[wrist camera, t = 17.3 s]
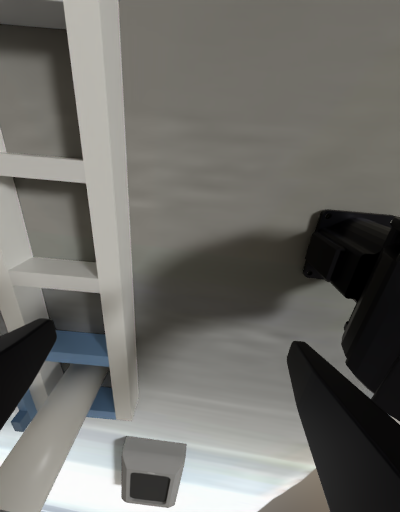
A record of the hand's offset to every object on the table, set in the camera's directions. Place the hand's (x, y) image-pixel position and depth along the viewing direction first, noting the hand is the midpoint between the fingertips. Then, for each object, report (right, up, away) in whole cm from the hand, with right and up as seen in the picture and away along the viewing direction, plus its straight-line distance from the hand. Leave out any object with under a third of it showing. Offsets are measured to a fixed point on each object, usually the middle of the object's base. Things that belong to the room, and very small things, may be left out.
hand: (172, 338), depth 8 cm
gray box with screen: (-7, -33, +30) cm, 45 cm away
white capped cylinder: (-13, -11, +20) cm, 26 cm away
